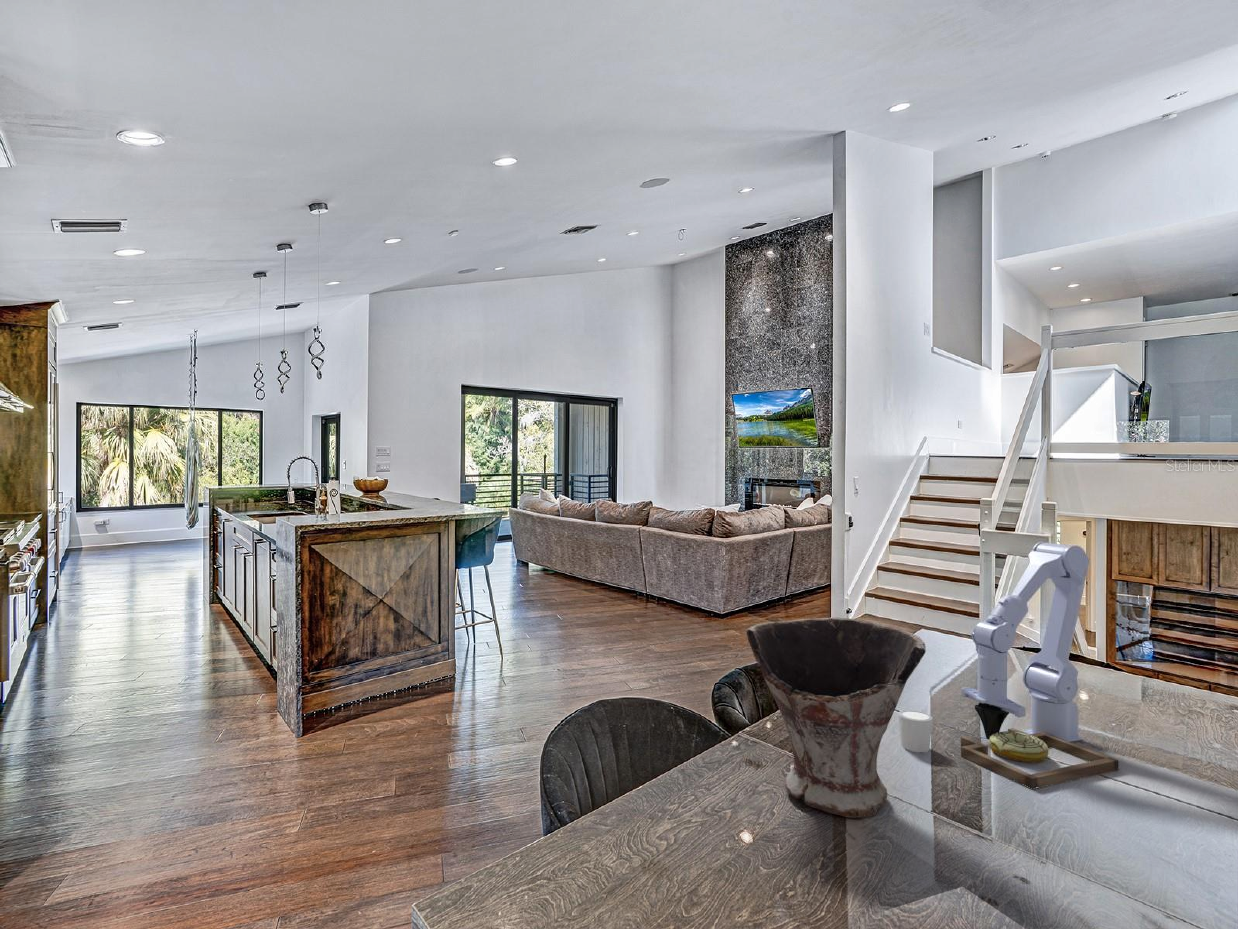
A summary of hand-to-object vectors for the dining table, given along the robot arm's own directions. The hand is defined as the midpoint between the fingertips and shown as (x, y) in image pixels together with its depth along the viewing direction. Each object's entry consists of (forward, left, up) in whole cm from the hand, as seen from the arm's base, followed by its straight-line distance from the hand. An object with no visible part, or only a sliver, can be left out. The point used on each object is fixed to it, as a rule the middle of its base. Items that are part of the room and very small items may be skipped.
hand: (991, 739), depth 150 cm
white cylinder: (+18, -4, -1) cm, 19 cm away
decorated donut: (0, +6, -1) cm, 6 cm away
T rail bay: (0, +9, -1) cm, 9 cm away
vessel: (+49, +7, -1) cm, 50 cm away
